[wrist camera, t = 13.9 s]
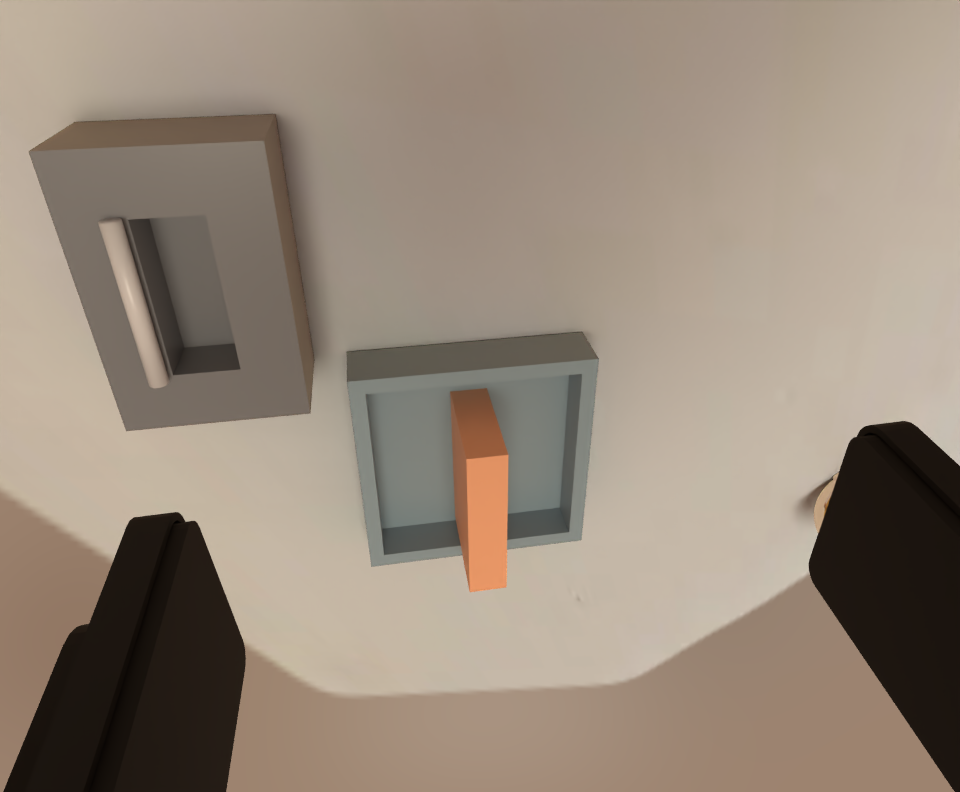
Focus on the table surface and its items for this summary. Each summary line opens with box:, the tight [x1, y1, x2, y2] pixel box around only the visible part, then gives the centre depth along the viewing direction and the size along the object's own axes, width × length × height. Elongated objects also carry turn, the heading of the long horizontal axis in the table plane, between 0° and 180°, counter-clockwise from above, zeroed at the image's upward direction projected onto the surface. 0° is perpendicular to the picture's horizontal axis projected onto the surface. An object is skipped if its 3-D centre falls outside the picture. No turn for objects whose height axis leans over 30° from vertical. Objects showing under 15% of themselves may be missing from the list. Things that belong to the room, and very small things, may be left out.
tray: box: [347, 332, 599, 567], centre depth 39 cm, size 13×13×3 cm
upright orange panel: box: [450, 388, 508, 592], centre depth 37 cm, size 2×6×9 cm
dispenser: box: [29, 114, 314, 431], centre depth 30 cm, size 8×12×6 cm, turn 0°
